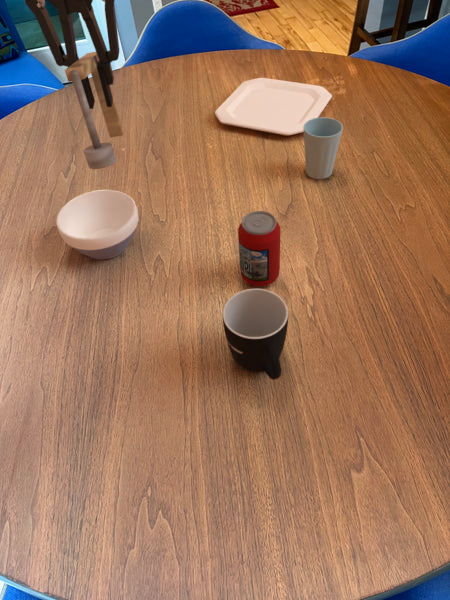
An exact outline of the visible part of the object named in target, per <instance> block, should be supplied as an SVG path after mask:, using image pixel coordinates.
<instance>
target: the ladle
mask: <svg viewBox="0 0 450 600" xmlns="http://www.w3.org/2000/svg"><path fill="white" fill-rule="evenodd" d="M98 62H99V58H98V55H97V53H96V51H91V52H86V53H85V54H84V55H83V56H81V57H79V60H77V61H76V62H75V63H73V64H72V65H71V66H69V67H67V68H65V69H64V73H65V76H66V79H67V81H68V83H71V82H72V85H73V88H74V90H75V95H76V97H77V101H78V104H79V107H80V110H81V113H82V116H83V119H84V123H85V125H86V128H87V131H88V134H89V138H90V141H91V144H92V145H89V146H87V147H86V148H84V149H83V154H84V157H85V161H86V163H87V166H88V168H89V169H90V170H101V169H105V168H108V167H110V166H113V165H114V164H116V163H117V157H116V154H115V150H114V147H113V144H112V143H111V142H101V139H100V138H99V134H98V130H97V127H96V124H95V121H94V118H93V115H92V111H91V109H90V108H89V105H88V101H87V98H86V95H85V92H84V88H83V85H82V82H81V80H82V79H85V78H86V77H87V76H88V77H89V76H90V74H91V78H92V81H93V85H94V87H95V91H96V95H97V98H98V102H99V104H100V109H101V111H102V115H103V118H104V122H105V125H106V129H107V132H108V136H109V138H117V137H121V136H122V137H123V136H124V129H123V126H122V122H121V119H120V115H119V112H118V108H117V105H116V102H115V97H114V93H113V90H112V87H111V86H112V85H110V89H111V93H112V97H113V102H112V107H107V104H106V101H105V97H104V93H103V89H102V85H101V82H100V78H99V74H98V70H97V66H98Z"/></svg>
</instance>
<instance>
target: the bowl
mask: <svg viewBox="0 0 450 600" xmlns="http://www.w3.org/2000/svg"><path fill="white" fill-rule="evenodd" d="M138 210H139V209H138V208H137V205H136V203H135V200H134V199H133V198H132V197H131V196H130V195H129V194H128V193H125V192H124V191H123V192H122V191H119V190H117V189H116V190H115V189H97V190H91V191H87V192H85V193H82V194H79V195H77V196H75V197H73V198H72V199H71V200H69V201H67V203H65V204H64V205H63V206H62V207H61V209H60V210H59V211H58V214H57V216H56V221H55V223H56V228H57V231H58V233H59V235H60V237H61V239H62V240H63V242H65V243H66V244H67V245H68V246H69V247H70V248H72V249H74V250H76V251H77V252H79V253H80V254H82V255H85V256H87V257H89V258H91V259H94V260H99V261H100V260H101V261H102V260H109V259H113V258H115V257H118V256H119V255H122V253H123V252H125V251H126V249H128V247H129V245H130V243H131V242H132V239H133V238H134V236H135V233H136V231H137V227H138V224H139V211H138Z"/></svg>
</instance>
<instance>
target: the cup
mask: <svg viewBox="0 0 450 600" xmlns="http://www.w3.org/2000/svg"><path fill="white" fill-rule="evenodd" d="M343 129H344V126H343V124H342V122H341V121H339V120H338V119H336V118H332V117H325V116H323V117H322V116H321V117H320V116H319V117H318V118H314V119H311V120H309V121H307V122H306V123H305V124H304V132H303V143H304V144H303V145H304V159H305V161H304V162H305V163H304V164H305V173H306V175H307V176H308V177H309V178H311V179H315V180H324V179H327V178H329V177H330V176H331V175H333V171H334V168H335V167H334V166H335V162H336V158H337V155H338V150H339V146H340V143H341V138H342V134H343Z"/></svg>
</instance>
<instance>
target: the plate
mask: <svg viewBox="0 0 450 600" xmlns="http://www.w3.org/2000/svg"><path fill="white" fill-rule="evenodd" d="M332 98H333V95H332V93H330V92H329V91H328V90H327V89H326V88H325V87H324V86H322V85H317V84H310V83H302V82H296V81H295V82H294V81H289V80H282V79H274V78H269V77H258V78H252V79H247V80H245V81H243V82H241V83H240V85H239V86H237V88H236V89H234V91H232V93H231V94H230V95H229V96H228V97H227V98H226V99H225V100H224V101H223V102H222V103H221V104H220V106H218V107H217V109H216V110H214V115H215V117H216V119H217V120H218V122H220V123H221V124H223V125H227V126H234V127H238V128H242V129H243V128H244V129H249V130H255V131H259V132H264V133H269V134H276V135H281V136H292V135H296V134H301V133H304V124H305V123H306V122H307V121H309V120H311V119H314V118H319V117H320V116H321V114H322V112H323V111H324V109H325V108H326V107H327V105H328V104H329V102H330V101H331V100H332Z"/></svg>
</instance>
